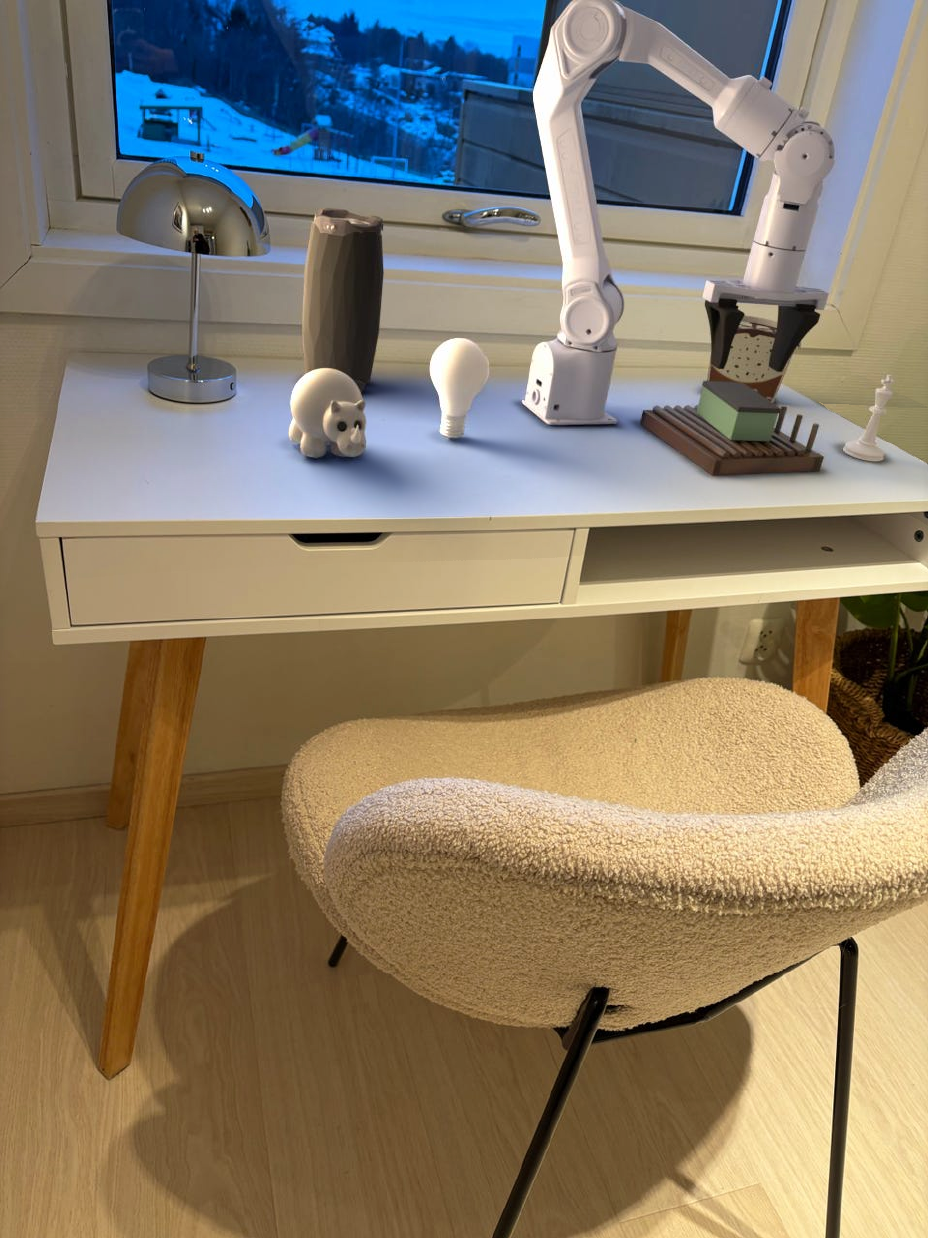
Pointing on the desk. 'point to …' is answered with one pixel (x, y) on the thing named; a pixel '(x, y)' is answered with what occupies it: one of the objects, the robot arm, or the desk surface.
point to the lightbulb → (458, 381)
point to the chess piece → (871, 427)
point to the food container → (752, 358)
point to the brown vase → (343, 293)
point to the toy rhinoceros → (328, 414)
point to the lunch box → (737, 411)
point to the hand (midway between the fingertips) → (746, 367)
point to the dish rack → (732, 443)
